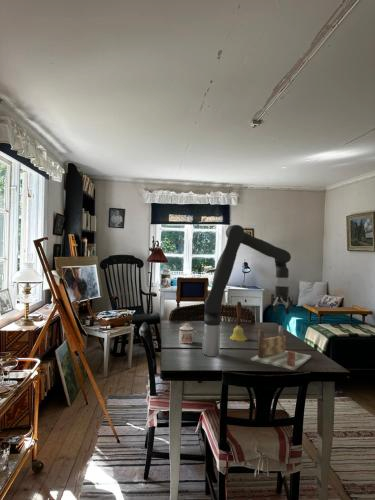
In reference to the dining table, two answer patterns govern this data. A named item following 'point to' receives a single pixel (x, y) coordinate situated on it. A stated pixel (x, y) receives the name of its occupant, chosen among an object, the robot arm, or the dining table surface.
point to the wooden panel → (275, 344)
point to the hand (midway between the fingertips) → (281, 313)
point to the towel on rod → (279, 356)
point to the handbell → (238, 326)
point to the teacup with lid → (186, 334)
